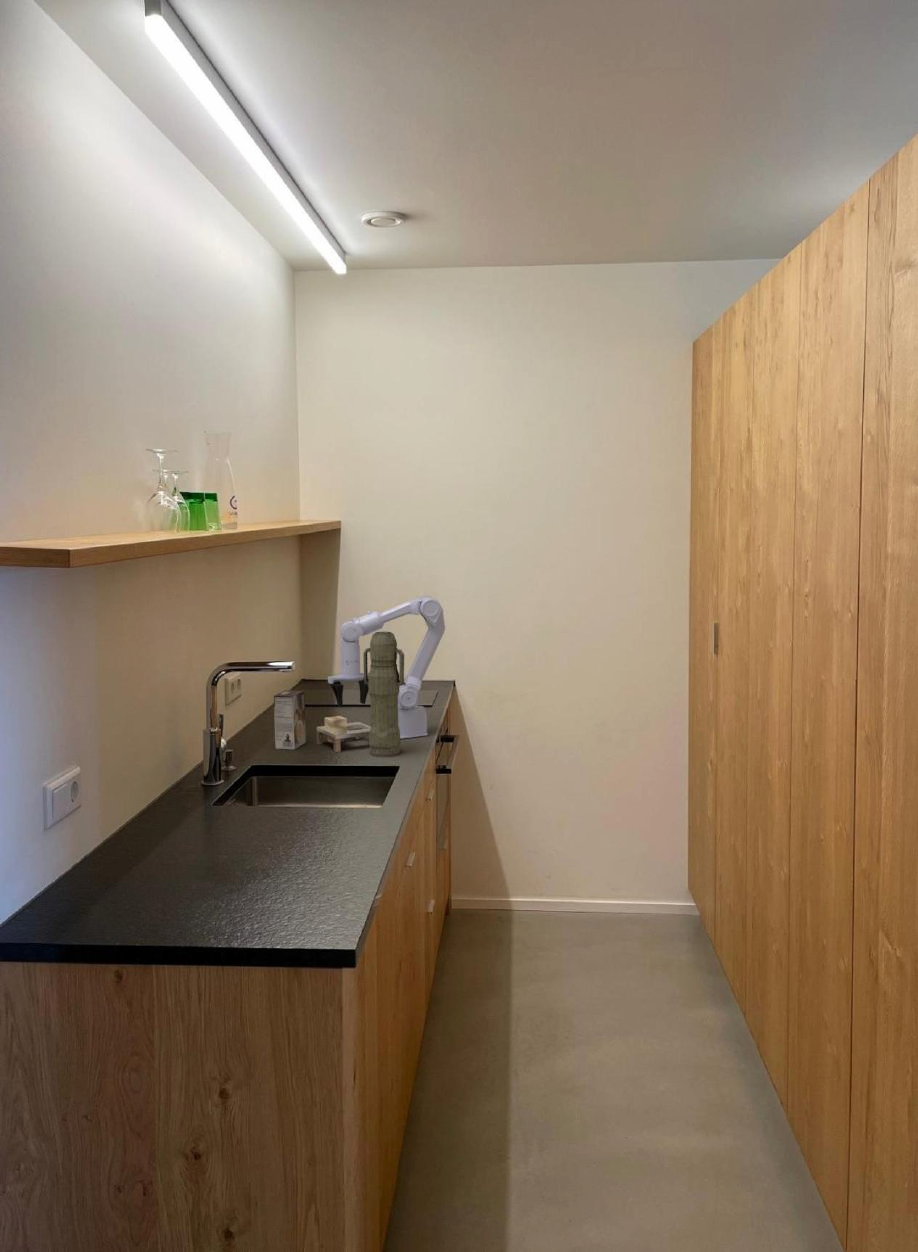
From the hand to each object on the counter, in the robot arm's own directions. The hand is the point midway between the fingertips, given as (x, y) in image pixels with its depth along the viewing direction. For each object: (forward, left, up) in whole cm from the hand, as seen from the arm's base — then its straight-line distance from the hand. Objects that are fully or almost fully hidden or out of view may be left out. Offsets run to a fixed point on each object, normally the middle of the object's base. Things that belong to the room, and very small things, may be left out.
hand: (351, 704), depth 296 cm
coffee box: (+20, 0, -11) cm, 23 cm away
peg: (+9, +8, -9) cm, 15 cm away
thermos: (0, +23, -11) cm, 25 cm away
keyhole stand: (+5, +8, -10) cm, 14 cm away
